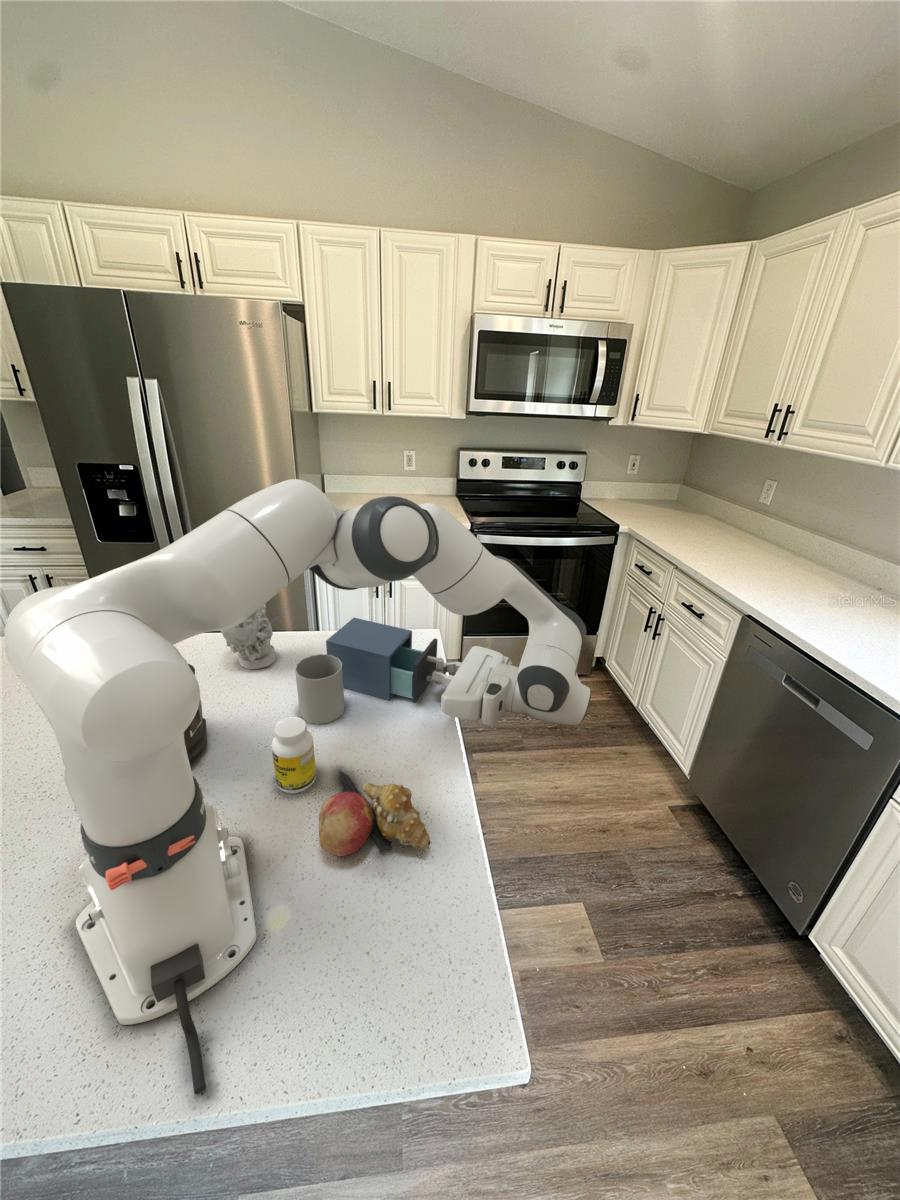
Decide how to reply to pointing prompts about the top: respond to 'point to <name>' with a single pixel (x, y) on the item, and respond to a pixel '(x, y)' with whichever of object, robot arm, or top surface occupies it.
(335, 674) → the cup
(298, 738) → the pill bottle
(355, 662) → the blue cabinet
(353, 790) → the knife
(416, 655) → the drawer with handle
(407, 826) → the seashell
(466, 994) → the top surface
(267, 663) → the bust
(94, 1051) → the top surface
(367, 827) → the fruit
